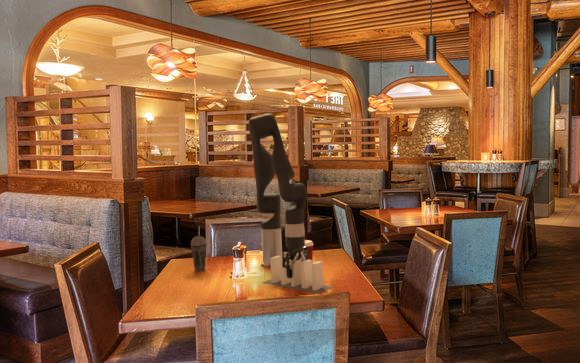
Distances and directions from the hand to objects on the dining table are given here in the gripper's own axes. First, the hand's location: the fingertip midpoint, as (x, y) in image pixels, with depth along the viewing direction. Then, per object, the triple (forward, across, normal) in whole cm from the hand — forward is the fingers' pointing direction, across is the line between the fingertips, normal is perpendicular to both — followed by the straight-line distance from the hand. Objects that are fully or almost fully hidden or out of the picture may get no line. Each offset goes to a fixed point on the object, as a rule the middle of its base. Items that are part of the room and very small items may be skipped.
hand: (296, 275), depth 200 cm
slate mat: (+4, 0, 0) cm, 4 cm away
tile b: (+4, 0, +5) cm, 6 cm away
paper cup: (+4, +17, +8) cm, 19 cm away
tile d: (+4, 0, -5) cm, 6 cm away
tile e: (+4, 0, -10) cm, 11 cm away
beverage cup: (+4, -1, +54) cm, 54 cm away
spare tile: (+4, 0, 0) cm, 4 cm away
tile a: (+4, 0, +10) cm, 11 cm away
